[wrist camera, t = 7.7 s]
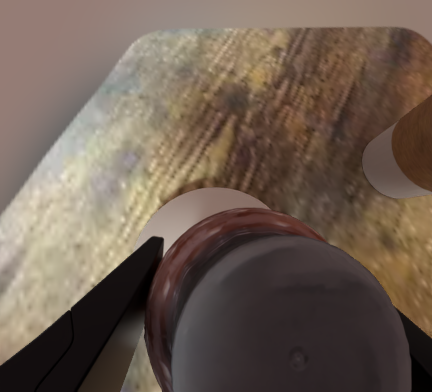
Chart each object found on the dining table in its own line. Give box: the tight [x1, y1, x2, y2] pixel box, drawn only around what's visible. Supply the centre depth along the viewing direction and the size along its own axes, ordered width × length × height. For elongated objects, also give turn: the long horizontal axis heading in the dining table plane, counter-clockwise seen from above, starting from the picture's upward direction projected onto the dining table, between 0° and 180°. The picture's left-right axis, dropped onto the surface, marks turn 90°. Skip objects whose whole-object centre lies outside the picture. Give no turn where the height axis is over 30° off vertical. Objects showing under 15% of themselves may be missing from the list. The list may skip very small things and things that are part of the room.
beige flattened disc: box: [133, 187, 271, 326], centre depth 18 cm, size 12×12×1 cm
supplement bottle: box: [144, 208, 411, 392], centre depth 9 cm, size 6×6×11 cm
